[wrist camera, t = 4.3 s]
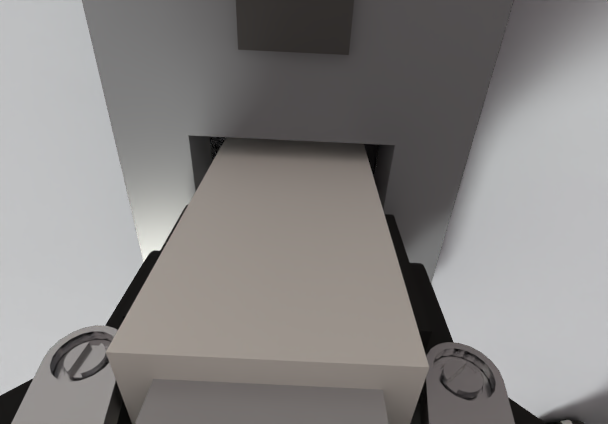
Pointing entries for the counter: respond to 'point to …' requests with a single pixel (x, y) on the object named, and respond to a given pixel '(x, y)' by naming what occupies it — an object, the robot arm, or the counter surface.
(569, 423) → the battery charger
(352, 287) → the plug
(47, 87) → the counter surface
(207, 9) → the grey slotted plate
